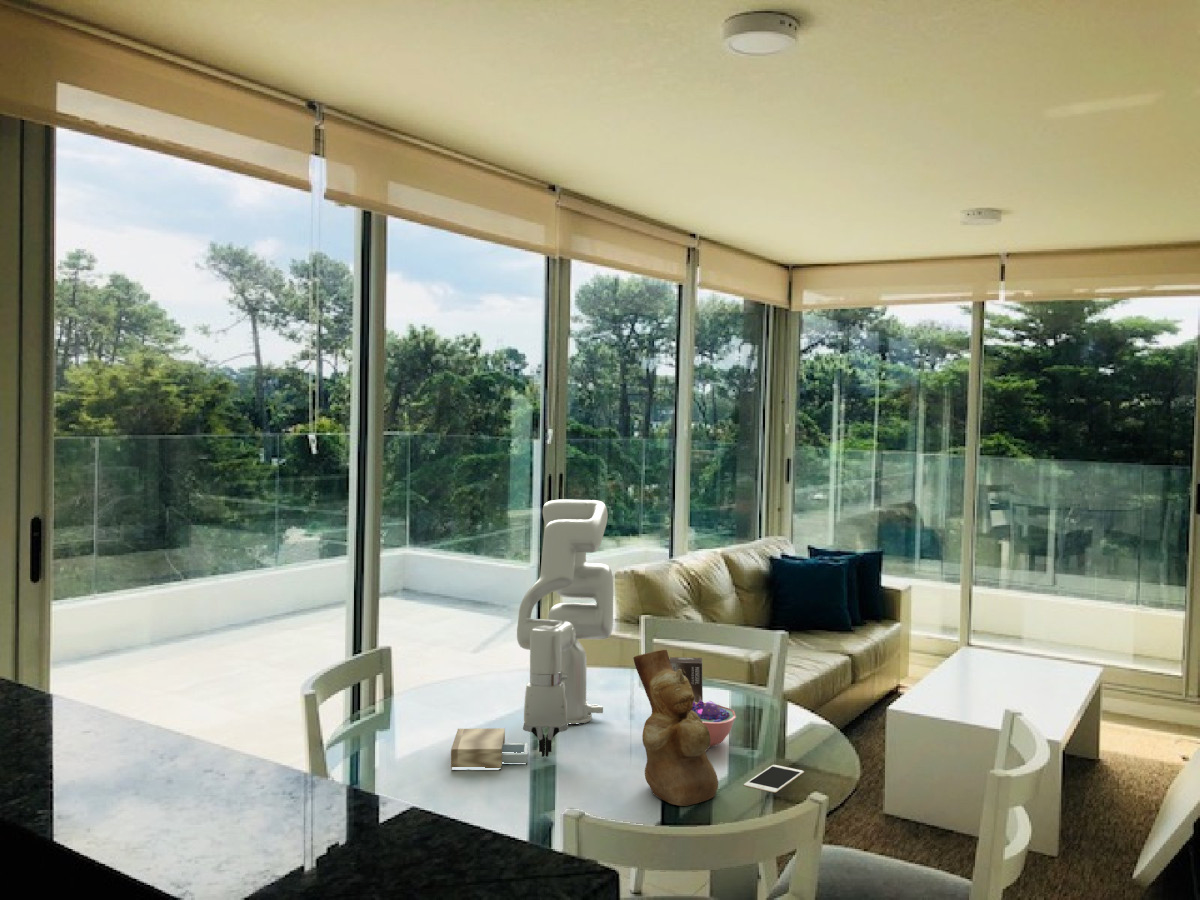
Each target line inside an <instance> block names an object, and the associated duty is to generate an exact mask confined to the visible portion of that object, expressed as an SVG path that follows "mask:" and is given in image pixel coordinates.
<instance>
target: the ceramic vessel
mask: <svg viewBox="0 0 1200 900" xmlns="http://www.w3.org/2000/svg"><path fill="white" fill-rule="evenodd" d="M632 659H633V662H634V666H635V669H636V672H637V674H638V676H639V677H638V678H639V679H640V681H641V684H642V686H643V689H644V691H645V694H646V698H647V699H648V701H649V704H650V707H651V714H650V716H649V717H647V719H646V721H645V722H644V724H643V725H644V726H643V730H642V735H641V736H642V737H641V738H642V743H643V744H642V745H643V747H644V748H645V752H646V763H645V768H644V779H645V781H646V783H647V784H648V786H649V788H650V789H651V791H652V794H653V795H654V797H657V798H658V799H660V800H662V801H665V802H666V803H668V804H671V805H674V806H675V805H676V806H680V807H682V806H683V807H686V806H691V805H695V804H699V803H702V802H707V801H709V800H710V799H713V798H714V797H715V796H716V794H717V791H718V789H719V779H718V774H717V772H716V770H715V768H714V766H713V765H712V763H711V760H710V759H709V757H708V755H707V753H706V752H707V750H708V749H710V747H709V746H710V734H709V731H708V729H707V727H706V726H705V725H704V724H703V722H702V720H701V719H700V717H699V716H698V715H697V713H695V712H694V711H692V710H691V709H692V708H693V701H694V694H693V691H692V687H691V685H690V683H689V681H688V679H687V678H686V677H685V676H684V675H683V672H682V670H681V669H678V670H677V672H675V671H674V670H673V668H672V665H671V663H670V655H669V653H668V650H667V649H666V648H664V649H659V650H654V651H651V652H650V651H649V652H646V653H642V654H638V655H635V656H634V657H632Z"/></svg>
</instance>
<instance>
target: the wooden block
mask: <svg viewBox="0 0 1200 900" xmlns="http://www.w3.org/2000/svg"><path fill="white" fill-rule="evenodd" d="M503 744H506V727H505V728H501V727H500V728H496V727H495V728H492V727H491V728H490V727H489V728H457V731H456V734H455V736H454V740H453V742H452V746H451V748H450V768H451V767H485V768H501V766H502V767H503V765H502V746H503Z"/></svg>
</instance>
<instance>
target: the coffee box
mask: <svg viewBox="0 0 1200 900" xmlns="http://www.w3.org/2000/svg"><path fill="white" fill-rule="evenodd" d="M669 659H670V663H671V665H672V668H673V670H674V671H675V672H677V670H678V669H681V670H682V672H683V675H684V676H685V677H686V678H687V679H688V681H689V683H690V685H691V687H692V691H693V694H694V701H693V702H696V703H698V702H699V701H700V700H701V701H702V702H704V700H703V698H704V696H703V691H704V690H703V658H702V657H680V656H679V657H678V656H677V657H675V656H674V657H671V656H669Z"/></svg>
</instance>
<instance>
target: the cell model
mask: <svg viewBox="0 0 1200 900" xmlns="http://www.w3.org/2000/svg"><path fill="white" fill-rule="evenodd" d="M691 710H692V711H694V712H695V713H697V715H698V716H699V717H700V719H701V720H702V722H703V724H704V725H705V726H706V727H707V729H708V731H709V734H710V746H709V748H711V747H715V746H718V745H719V744H722V743H723V741H725V739H726V738H727V737H728V736H729V734H730V733H731V730H732V728H733V726H734V722H735V720H736V718H737V715H736V713H735V712H736V711H735V710H733V709H731V708H729V707H726V706H723V705H720V704H717V703H715V702H714V701H712V700H709V701H706V702H704V701H703V702H702V701H701V700H700V701H699V702H698V703H696V702H693V708H692V709H691Z"/></svg>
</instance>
